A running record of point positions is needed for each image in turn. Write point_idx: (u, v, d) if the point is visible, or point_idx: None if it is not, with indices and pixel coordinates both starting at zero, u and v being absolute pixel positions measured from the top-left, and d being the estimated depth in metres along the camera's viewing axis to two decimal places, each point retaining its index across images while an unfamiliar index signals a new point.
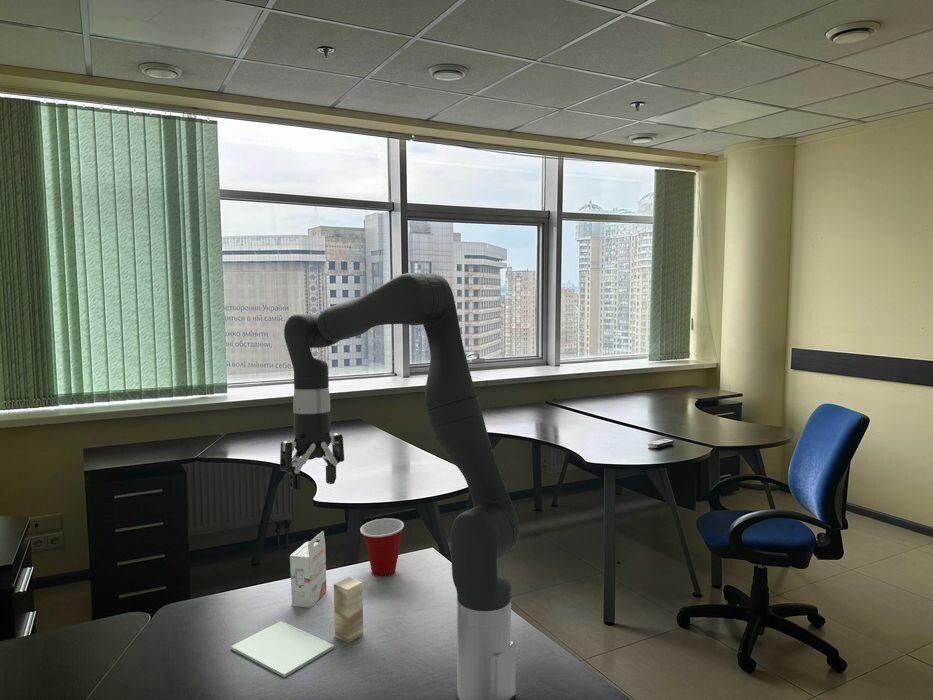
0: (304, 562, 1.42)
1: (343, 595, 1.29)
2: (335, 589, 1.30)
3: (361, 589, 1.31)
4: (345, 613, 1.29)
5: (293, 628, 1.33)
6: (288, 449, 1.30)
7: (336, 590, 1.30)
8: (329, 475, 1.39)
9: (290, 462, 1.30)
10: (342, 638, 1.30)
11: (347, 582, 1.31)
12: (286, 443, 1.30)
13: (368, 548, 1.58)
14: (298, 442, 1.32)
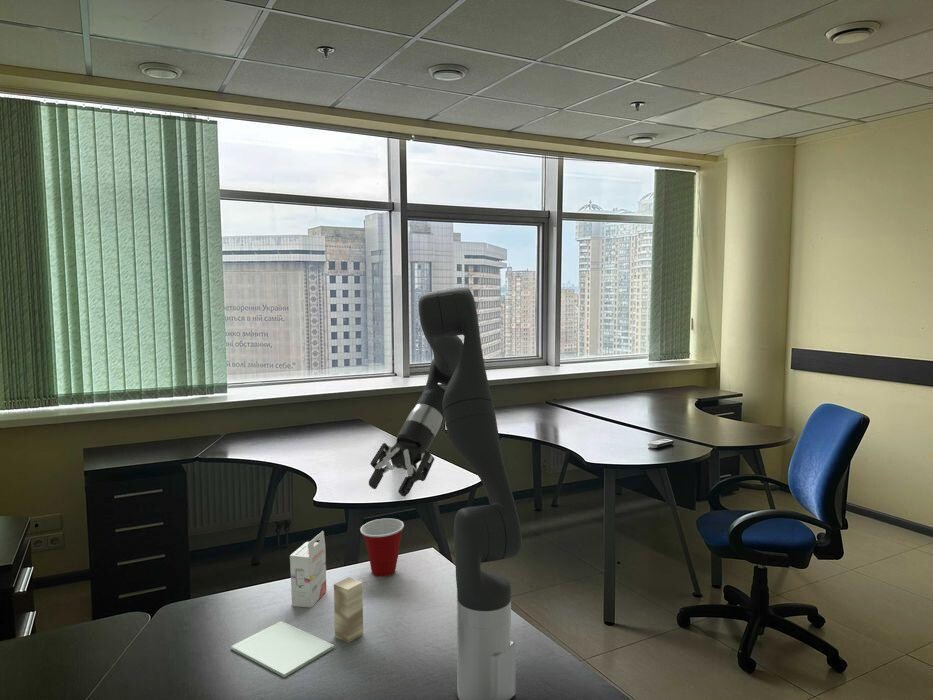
0: (304, 562, 1.42)
1: (343, 595, 1.29)
2: (335, 589, 1.30)
3: (361, 589, 1.31)
4: (345, 613, 1.29)
5: (293, 628, 1.33)
6: (381, 448, 1.46)
7: (336, 590, 1.30)
8: None
9: (376, 458, 1.45)
10: (342, 638, 1.30)
11: (347, 582, 1.31)
12: None
13: (368, 548, 1.58)
14: None
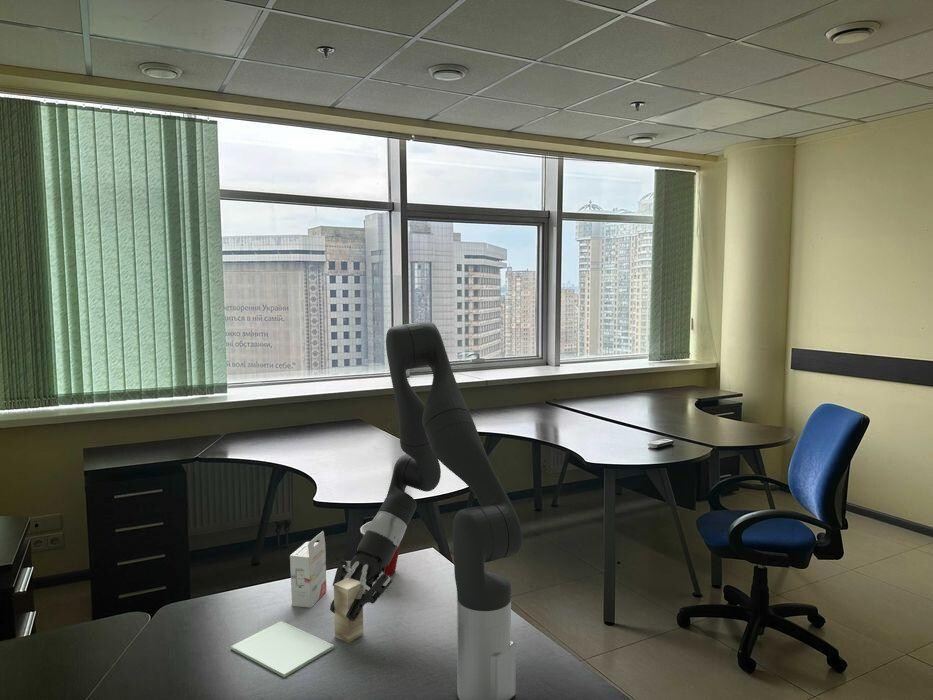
0: (304, 562, 1.42)
1: (343, 595, 1.29)
2: (335, 589, 1.30)
3: None
4: (345, 612, 1.29)
5: (293, 628, 1.33)
6: (339, 565, 1.37)
7: (336, 590, 1.30)
8: None
9: (338, 577, 1.35)
10: (342, 638, 1.30)
11: (347, 582, 1.31)
12: None
13: None
14: (351, 560, 1.37)
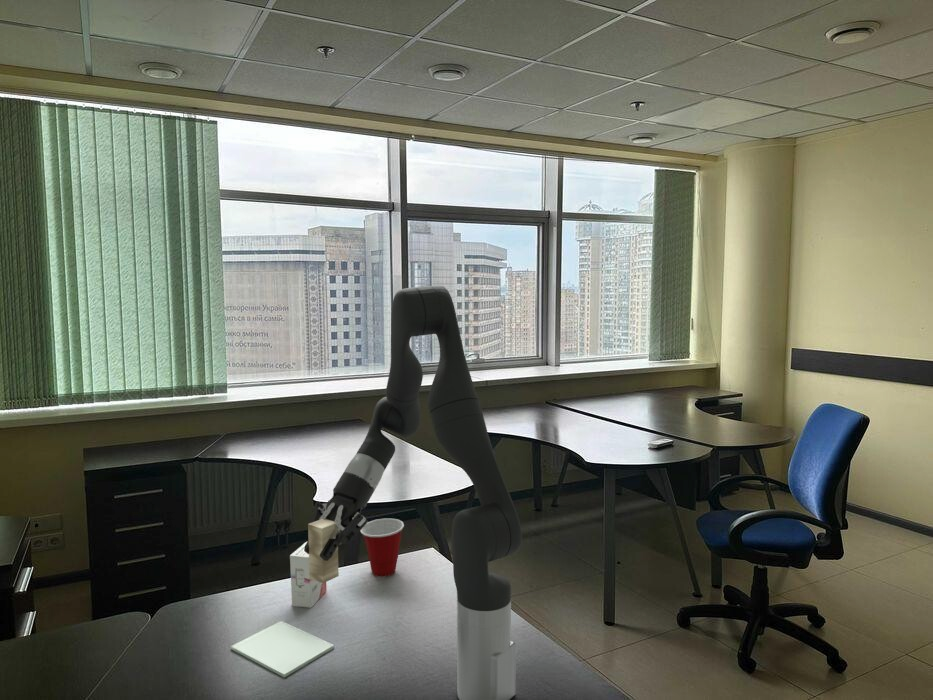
0: (304, 562, 1.42)
1: (317, 534, 1.26)
2: (309, 529, 1.28)
3: None
4: (319, 552, 1.26)
5: (293, 628, 1.33)
6: (315, 507, 1.34)
7: (310, 530, 1.27)
8: None
9: (313, 519, 1.32)
10: (316, 579, 1.27)
11: (322, 522, 1.28)
12: None
13: (368, 548, 1.58)
14: (327, 502, 1.34)
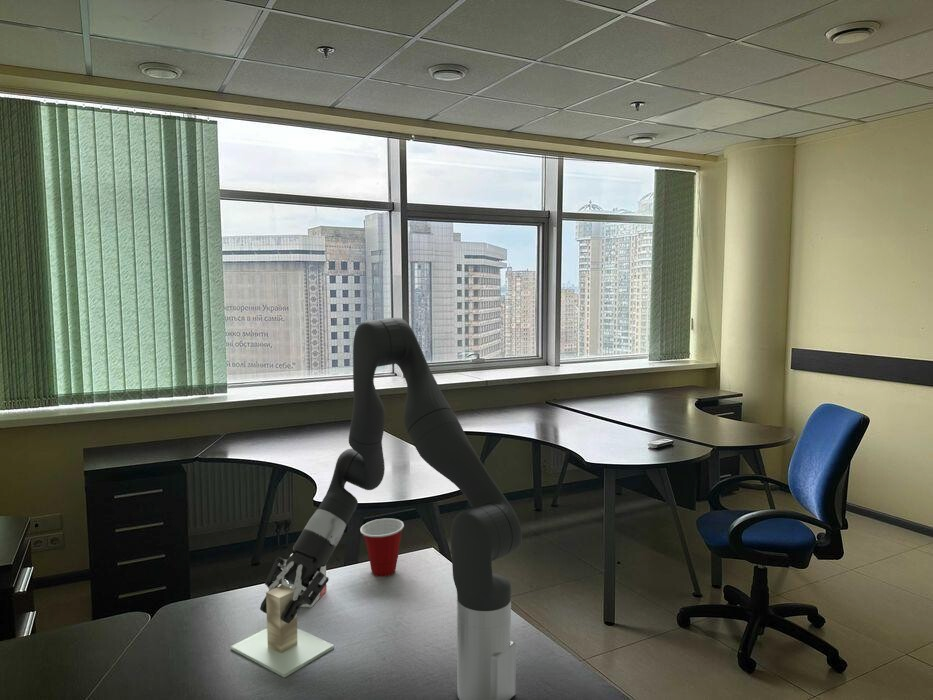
0: None
1: (274, 603, 1.24)
2: (267, 597, 1.25)
3: None
4: (277, 622, 1.24)
5: None
6: (275, 563, 1.32)
7: (268, 598, 1.25)
8: None
9: (271, 575, 1.30)
10: (274, 648, 1.25)
11: (281, 590, 1.26)
12: None
13: (368, 548, 1.58)
14: (287, 559, 1.32)
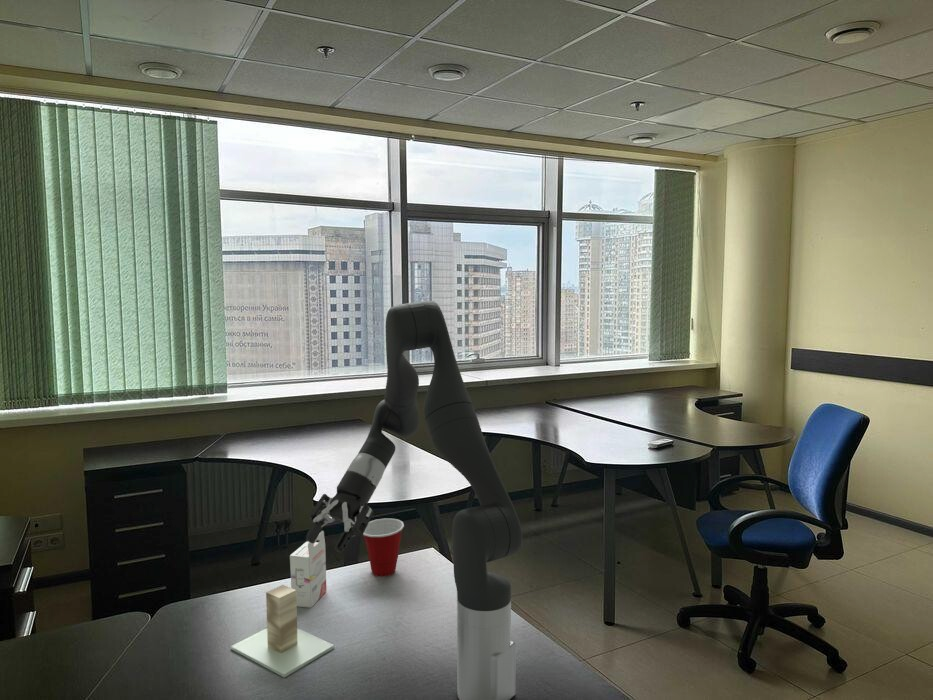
0: (304, 562, 1.42)
1: (274, 603, 1.24)
2: (267, 597, 1.25)
3: (295, 597, 1.26)
4: (277, 622, 1.24)
5: None
6: (320, 499, 1.42)
7: (268, 598, 1.25)
8: None
9: (315, 510, 1.40)
10: (274, 648, 1.25)
11: (281, 590, 1.26)
12: None
13: (368, 548, 1.58)
14: (332, 498, 1.41)
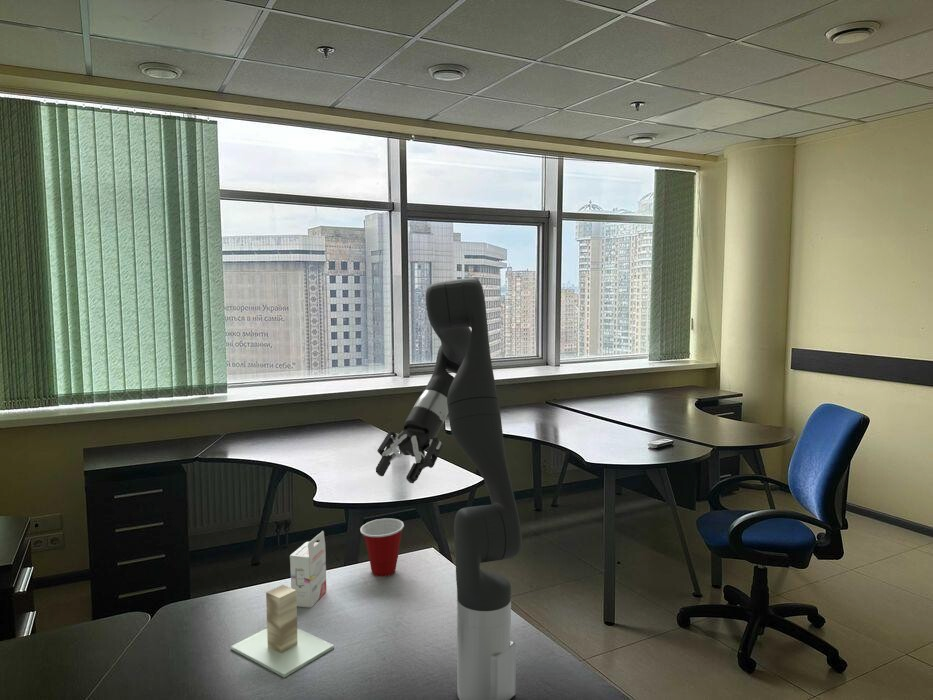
0: (304, 562, 1.42)
1: (274, 603, 1.24)
2: (267, 597, 1.25)
3: (295, 597, 1.26)
4: (277, 622, 1.24)
5: None
6: (388, 435, 1.43)
7: (268, 598, 1.25)
8: None
9: (383, 445, 1.42)
10: (274, 648, 1.25)
11: (281, 590, 1.26)
12: None
13: (368, 548, 1.58)
14: None
